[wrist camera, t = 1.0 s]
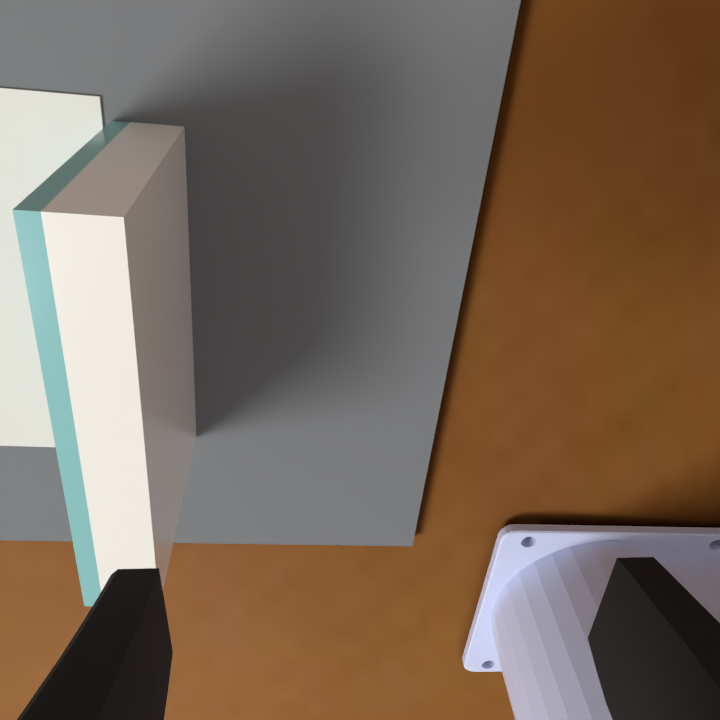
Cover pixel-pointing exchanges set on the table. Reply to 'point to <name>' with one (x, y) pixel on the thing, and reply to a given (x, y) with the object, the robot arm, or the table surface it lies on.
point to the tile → (116, 341)
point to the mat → (271, 240)
